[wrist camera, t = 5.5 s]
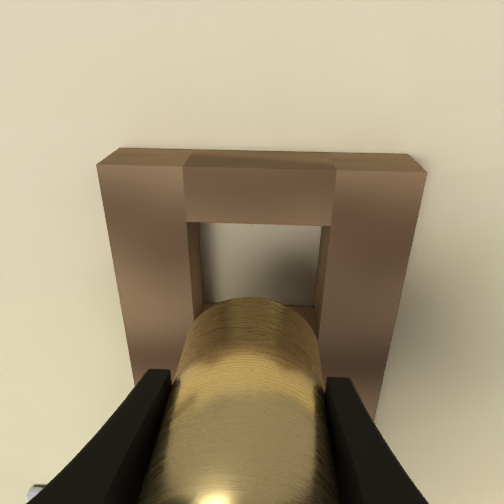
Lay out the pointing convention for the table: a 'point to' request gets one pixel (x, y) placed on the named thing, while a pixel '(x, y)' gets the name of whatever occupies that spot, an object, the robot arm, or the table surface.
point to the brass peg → (245, 413)
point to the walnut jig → (263, 212)
